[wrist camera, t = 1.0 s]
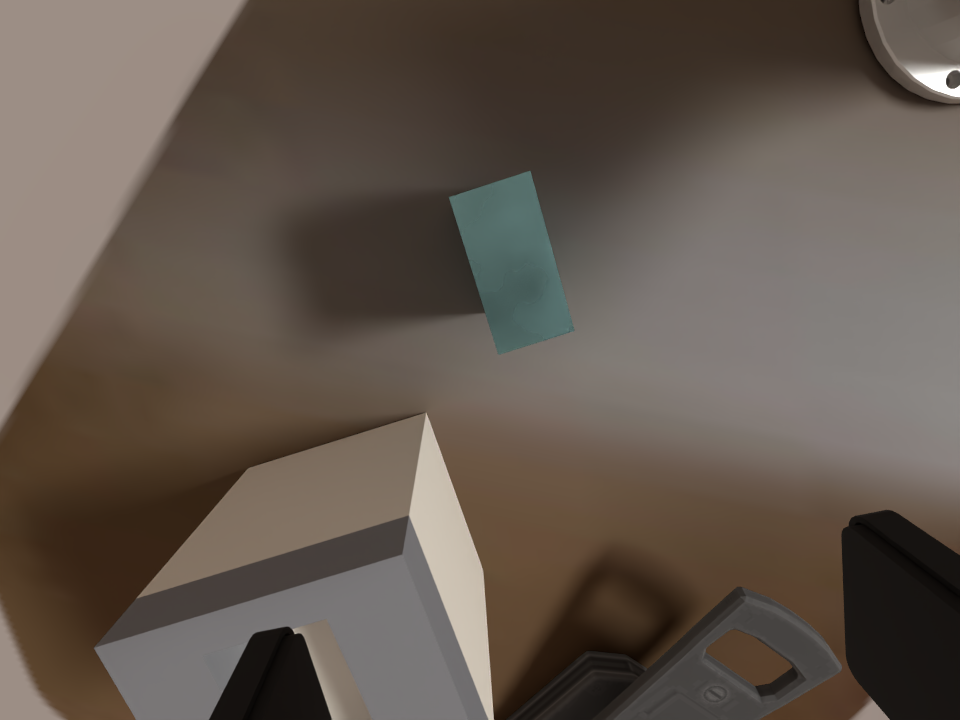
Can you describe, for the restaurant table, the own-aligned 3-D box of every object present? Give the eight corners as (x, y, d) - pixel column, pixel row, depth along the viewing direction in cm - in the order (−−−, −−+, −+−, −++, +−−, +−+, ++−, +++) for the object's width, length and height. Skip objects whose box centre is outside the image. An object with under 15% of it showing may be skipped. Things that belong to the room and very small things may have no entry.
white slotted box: (426, 412, 32) (402, 554, 18) (483, 569, 34) (499, 797, 21) (248, 468, 32) (93, 647, 18) (317, 619, 35) (227, 874, 21)
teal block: (505, 188, 29) (530, 170, 19) (537, 296, 30) (574, 330, 21) (451, 206, 29) (448, 197, 19) (485, 312, 30) (498, 354, 21)
